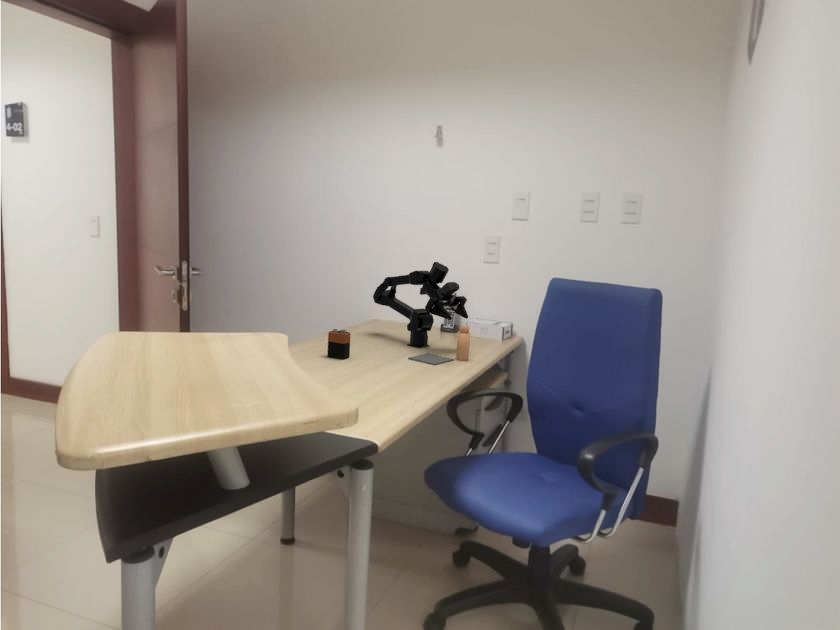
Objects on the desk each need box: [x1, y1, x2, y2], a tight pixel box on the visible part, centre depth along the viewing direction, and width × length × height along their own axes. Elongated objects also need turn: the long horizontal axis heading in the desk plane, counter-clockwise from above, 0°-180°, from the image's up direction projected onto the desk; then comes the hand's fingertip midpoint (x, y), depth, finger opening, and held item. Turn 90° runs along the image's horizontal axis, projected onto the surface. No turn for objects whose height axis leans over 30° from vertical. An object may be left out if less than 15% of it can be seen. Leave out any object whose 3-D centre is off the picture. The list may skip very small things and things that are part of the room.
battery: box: [326, 328, 351, 360], centre depth 201 cm, size 4×7×10 cm, turn 68°
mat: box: [407, 353, 455, 366], centre depth 207 cm, size 12×12×1 cm
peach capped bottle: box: [455, 324, 471, 362], centre depth 210 cm, size 5×5×12 cm
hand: (459, 318), depth 214 cm, fingers open, 9 cm apart
